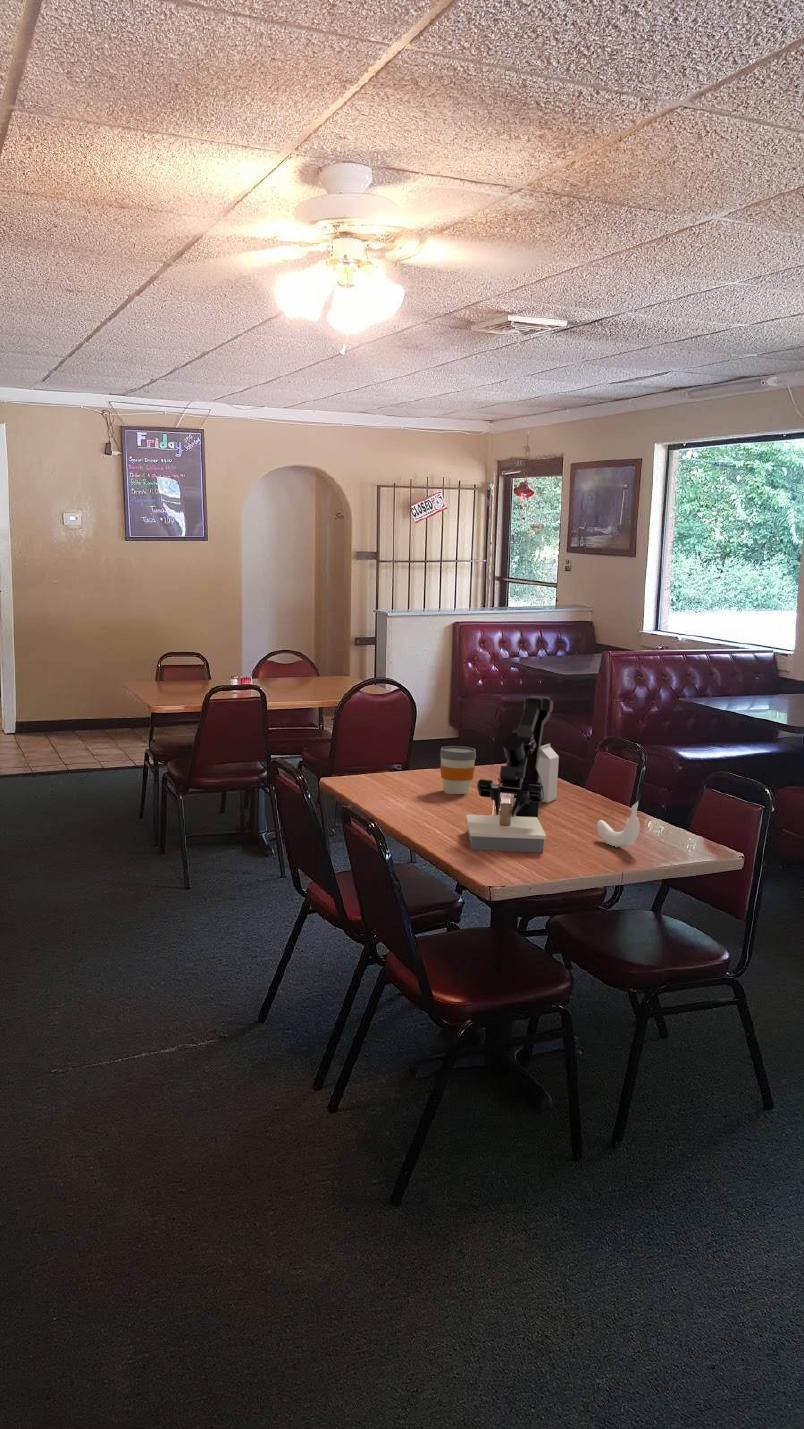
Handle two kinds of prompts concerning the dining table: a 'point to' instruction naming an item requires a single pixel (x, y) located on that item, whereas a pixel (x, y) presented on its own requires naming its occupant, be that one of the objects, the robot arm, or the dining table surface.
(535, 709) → the robot arm
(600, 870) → the dining table surface
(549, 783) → the milk carton
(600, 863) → the dining table surface
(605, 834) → the white shrimp
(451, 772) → the reusable coffee cup
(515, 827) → the tub lid
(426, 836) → the dining table surface
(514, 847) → the tray
